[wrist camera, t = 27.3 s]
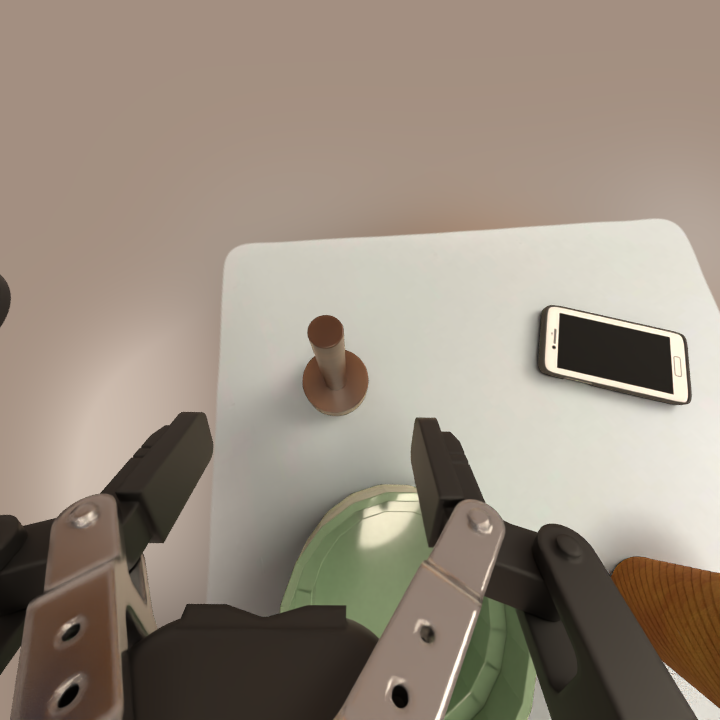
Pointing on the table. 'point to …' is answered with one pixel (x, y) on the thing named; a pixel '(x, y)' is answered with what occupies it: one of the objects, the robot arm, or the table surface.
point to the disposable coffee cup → (677, 616)
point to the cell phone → (615, 354)
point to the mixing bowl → (387, 586)
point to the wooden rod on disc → (333, 370)
